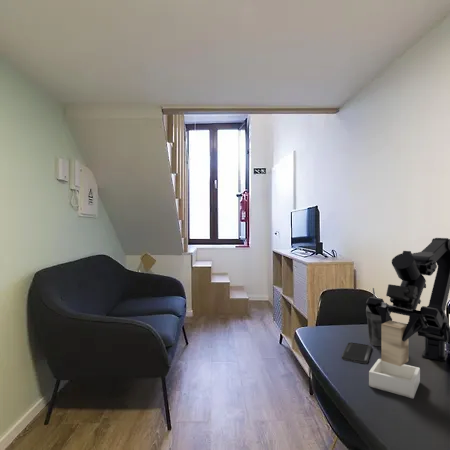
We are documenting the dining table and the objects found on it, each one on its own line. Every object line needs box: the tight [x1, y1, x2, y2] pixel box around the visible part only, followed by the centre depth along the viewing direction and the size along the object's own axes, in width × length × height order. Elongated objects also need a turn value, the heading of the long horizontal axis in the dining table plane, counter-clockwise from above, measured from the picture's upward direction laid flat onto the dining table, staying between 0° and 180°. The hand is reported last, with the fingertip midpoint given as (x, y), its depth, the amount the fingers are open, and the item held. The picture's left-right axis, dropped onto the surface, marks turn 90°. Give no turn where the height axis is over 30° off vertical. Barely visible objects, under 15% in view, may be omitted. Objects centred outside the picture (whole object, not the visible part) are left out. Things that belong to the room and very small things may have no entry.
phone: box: [341, 342, 373, 364], centre depth 115 cm, size 8×1×15 cm
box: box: [368, 358, 421, 400], centre depth 93 cm, size 11×11×4 cm
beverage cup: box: [365, 287, 381, 347], centre depth 123 cm, size 7×7×20 cm
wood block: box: [380, 320, 410, 366], centre depth 93 cm, size 5×5×10 cm
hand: (392, 337), depth 92 cm, fingers closed on wood block, 5 cm apart
